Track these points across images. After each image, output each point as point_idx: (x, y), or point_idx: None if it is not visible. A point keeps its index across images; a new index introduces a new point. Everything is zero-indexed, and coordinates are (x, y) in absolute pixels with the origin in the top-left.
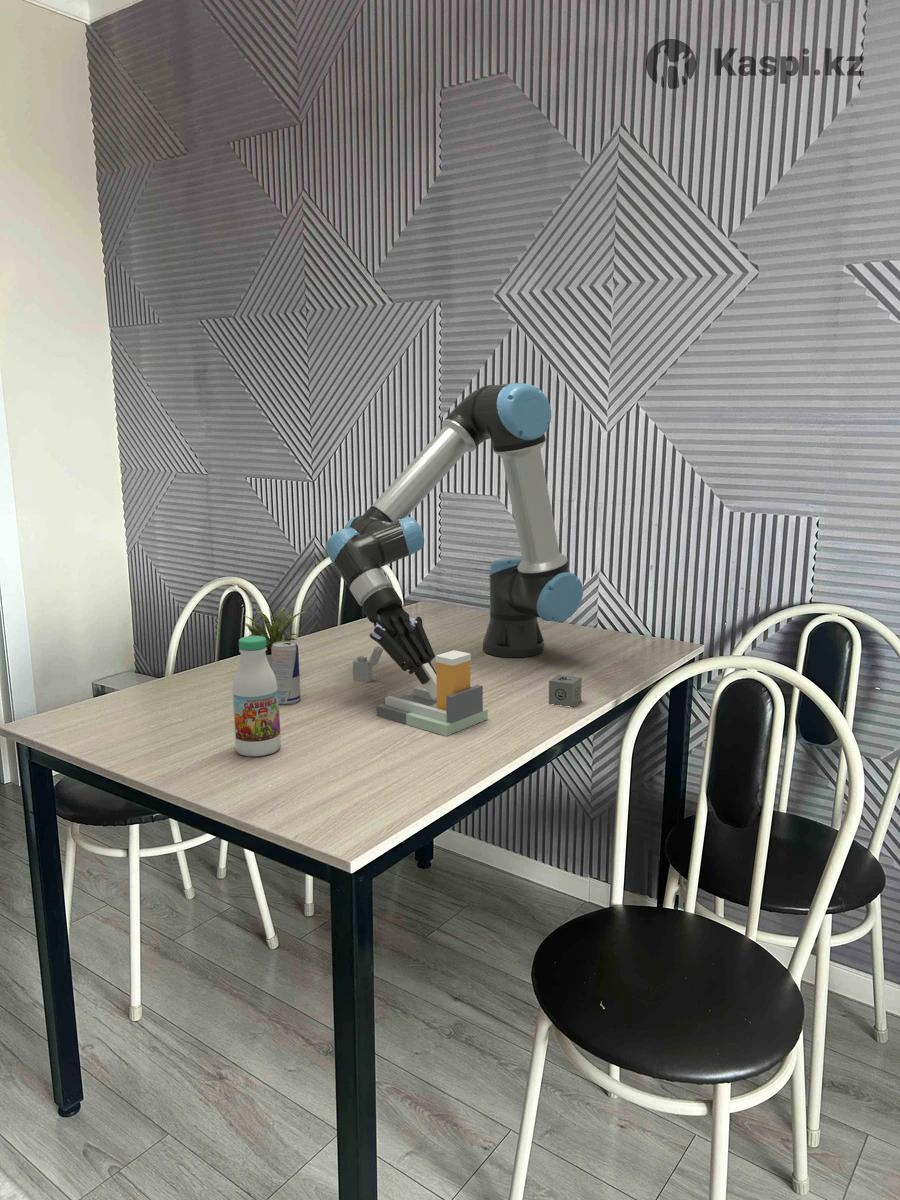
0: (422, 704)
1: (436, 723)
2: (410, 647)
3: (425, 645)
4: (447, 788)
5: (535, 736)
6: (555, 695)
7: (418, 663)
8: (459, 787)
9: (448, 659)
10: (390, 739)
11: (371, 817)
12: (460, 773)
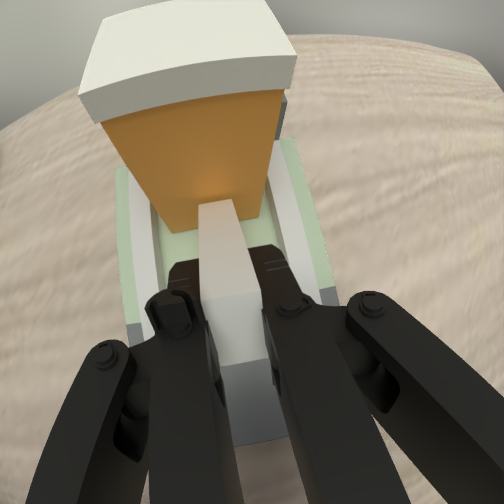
0: (287, 259)
1: (301, 167)
2: (325, 450)
3: (95, 455)
4: (386, 47)
5: None
6: None
7: (298, 299)
8: (372, 40)
9: (265, 6)
10: (403, 223)
11: (465, 74)
12: (354, 53)
